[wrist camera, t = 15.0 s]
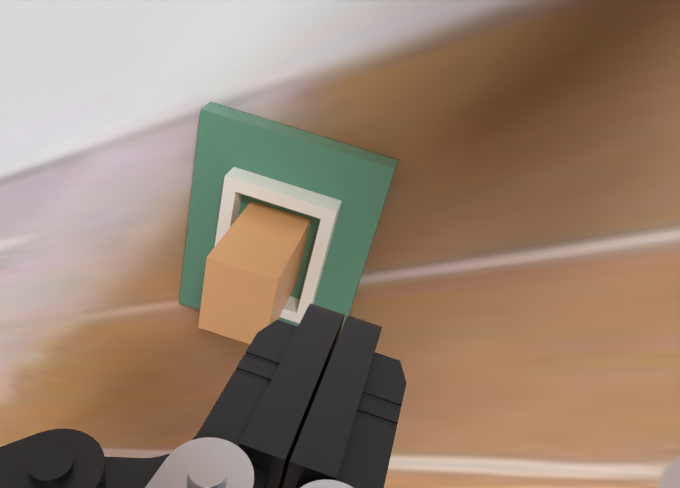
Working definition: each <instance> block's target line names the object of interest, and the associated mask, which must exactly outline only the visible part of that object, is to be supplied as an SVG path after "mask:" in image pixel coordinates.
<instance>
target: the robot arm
mask: <svg viewBox="0 0 680 488" xmlns="http://www.w3.org/2000/svg"><path fill="white" fill-rule="evenodd" d="M344 317H345V315H344V314H341V313H338V312H335V311H332V310H329V309H326V308H323V307H320V306H317V305H314V304H310V305H309V306H308V308H307V310H306V312H305V314H304V316H303V318H302V320H301V322H300V324H299V326H295V325H292V324H289V323H286V322H283V321H280V320H276V321H274V322H273V323H271V324H270V325H268V326H267V327H265V328H264V329H262V330H261V331H259V332H258V333H257V334H256V336H255V337H254V339H253V341H252V343H251V344H250V346H249V348H248V349H247V351H246V354H245V356H243V358H242V360H241V361H240V363H239V365H238V366H237V369H236V371H234V373H233V375H232V376H231V378H230V380H229V382H228V383H227V385H226V387H225V388H224V390H223V392H222V393H221V395H220V397H219V399H218V400H217V402H216V404H215V405H214V407H213V409H212V410H211V412H210V414H209V415H208V417H207V419H206V421H205V422H204V424H203V426H202V427H201V429H200V431H199V432H198V433H197V435H196V436H195V437H194V438H193V439H192V440H191V441H188V442H186V443H184V444H182V445H180V446H179V447H177V448H176V449H175V450H174V451H172V452H171V453H170V454H167V455H164V456H160V457H154V458H123V457H104V453H103V450H102V448H101V447H100V445H99V443H98V442H97V441H96V440H95V439H94V438H92V437H91V436H89V435H88V434H86V433H83V432H81V431H77V430H73V429H54V430H48V431H44V432H41V433H38V434H35V435H32V436H29V437H27V438H24V439H21V440H18V441H16V442H13V443H10V444H8V445H5V446H2V447H0V488H384V483H385V478H386V474H387V469H388V465H389V460H390V455H391V451H392V446H393V442H394V437H395V433H396V426H397V423H398V419H399V414H400V410H401V409H400V408H401V405H402V400H403V396H404V391H405V387H406V380H405V377H404V373H403V370H402V366H401V363H400V361H399V360H396V359H393V358H390V357H387V356H384V355H381V354H378V353H375V349H376V346H377V342H378V339H379V336H380V332H381V329H382V327H381V326H378V325H375V324H372V323H369V322H366V321H363V320H360V319H357V318H354V317H351V316H347V318H346V320H345V323H344V325H343V321H344ZM342 325H343V328H342ZM341 329H342V330H341ZM340 332H341V333H340Z"/></svg>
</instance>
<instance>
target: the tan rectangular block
mask: <svg viewBox="0 0 680 488" xmlns="http://www.w3.org/2000/svg"><path fill="white" fill-rule="evenodd" d="M310 222H311V219H308V218H304V217H301V216H298V215H295V214H291V213H288V212H285V211H282V210H278V209H275V208H272V207H269V206H265V205H262V204H259V203H256V202H252V201H251V202H250V203H249V204H248V205H247V207H246V208H245V209H244V211H243V212H242V213H241V214H240V216H239V217H238V218H237V219H236V221H235V222H234V223H233V224H232V226H231V227H230V228H229V230H228V231H227V232H226V233H225V235H224V236H223V237H222V238H221V240H220V241H219V242H218V243H217V245H216V246H215V247H214V249H213V250H212V251H211V252H210V254H209V255H208V256H207V259H206V267H205V275H204V283H203V291H202V300H201V308H200V316H199V324H198V328H201V329H204V330H207V331H210V332H213V333H216V334H219V335H223V336H226V337H229V338H232V339H235V340H238V341H241V342H244V343H247V344H251V343H252V341H253V339H254V337H255V336H256V334H257V333H258V332H259V331H261V330H262V329H264V328H265V327H267V326H268V325H270V324H271V323H273V322H274V321H276V320H278V319H279V317H280V315H281V313H282V311H283V309H284V307H285V305H286V303H287V301H288V299H289V297H290V295H291V293H292V291H293V289H294V287H295V285H296V283H297V279H298V274H299V270H300V266H301V261H302V257H303V253H304V248H305V244H306V240H307V235H308V231H309V227H310Z"/></svg>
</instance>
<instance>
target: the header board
mask: <svg viewBox="0 0 680 488" xmlns="http://www.w3.org/2000/svg"><path fill="white" fill-rule="evenodd" d="M397 162H398V160H396V159H393V158H390V157H387V156H384V155H380V154H377V153H374V152H371V151H367V150H364V149H361V148H358V147H355V146H351V145H348V144H345V143H342V142H338V141H335V140H332V139H329V138H326V137H322V136H319V135H316V134H313V133H309V132H306V131H303V130H300V129H297V128H293V127H290V126H287V125H284V124H280V123H277V122H274V121H271V120H268V119H264V118H261V117H258V116H255V115H251V114H248V113H245V112H242V111H239V110H235V109H232V108H229V107H226V106H222V105H219V104H216V103H213V102H210V103H209V104H207V105H206V106H204V107H203V108H201V112H200V121H199V130H198V139H197V148H196V156H195V165H194V174H193V183H192V192H191V201H190V210H189V218H188V227H187V236H186V245H185V254H184V263H183V272H182V280H181V289H180V298H179V303H180V304H183V305H186V306H189V307H192V308H195V309H198V310H200V308H201V300H202V291H203V283H204V275H205V267H206V259H207V256H208V255H209V254H210V252H211V251H212V250H213V249H214V247H215V246H216V245H217V243H218V242H219V241H220V240H221V238H222V237H223V236H224V235H225V233H226V232H227V231H228V230H229V228H230V227H231V226H232V224H233V223H234V222H235V221H236V219H237V218H238V217H239V216H240V214H241V213H242V212H243V211H244V209H245V208H246V207H247V205H248V204H249V203H250V202H251V201H252V202H256V203H259V204H262V205H265V206H269V207H272V208H275V209H278V210H282V211H285V212H288V213H291V214H295V215H298V216H301V217H304V218H308V219H311V222H310V227H309V231H308V235H307V240H306V244H305V248H304V253H303V257H302V261H301V266H300V270H299V274H298V279H297V283H296V285H295V287H294V289H293V291H292V293H291V295H290V297H289V299H288V301H287V303H286V305H285V307H284V309H283V311H282V313H281V315H280V317H279V319H278V320H280V321H283V322H286V323H289V324H292V325H295V326H299V324H300V322H301V320H302V318H303V316H304V314H305V312H306V310H307V308H308V306H309V305H310V304H314V305H317V306H320V307H323V308H326V309H329V310H332V311H335V312H338V313H341V314H344V315H345V317H344V321H343V325H344V323H345V320H346V318H347V316H349V312H350V309H351V306H352V303H353V300H354V297H355V294H356V290H357V287H358V284H359V281H360V278H361V275H362V272H363V268H364V265H365V262H366V259H367V256H368V253H369V250H370V247H371V243H372V240H373V237H374V234H375V231H376V228H377V225H378V221H379V218H380V215H381V212H382V209H383V206H384V203H385V199H386V196H387V193H388V190H389V187H390V184H391V181H392V178H393V174H394V171H395V168H396V165H397ZM343 325H342V328H343ZM341 330H342V329H341ZM340 333H341V332H340Z"/></svg>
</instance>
